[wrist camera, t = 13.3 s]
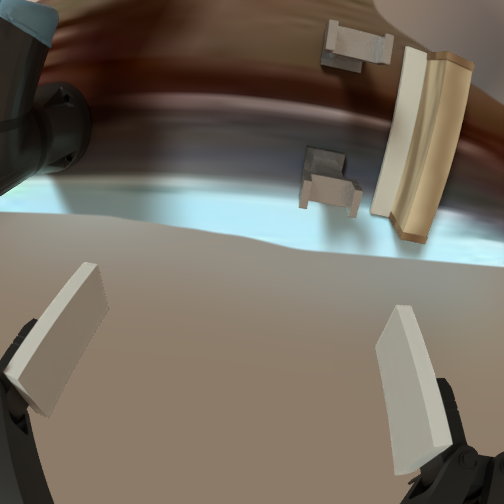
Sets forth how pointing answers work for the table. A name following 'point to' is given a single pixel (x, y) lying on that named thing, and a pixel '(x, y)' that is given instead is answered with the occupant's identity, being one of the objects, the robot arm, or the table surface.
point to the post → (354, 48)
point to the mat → (400, 131)
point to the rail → (431, 144)
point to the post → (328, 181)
